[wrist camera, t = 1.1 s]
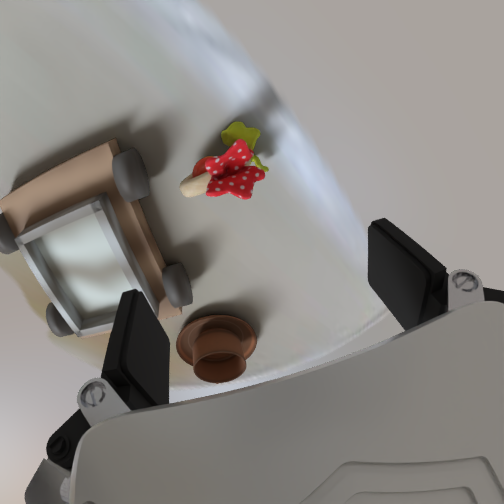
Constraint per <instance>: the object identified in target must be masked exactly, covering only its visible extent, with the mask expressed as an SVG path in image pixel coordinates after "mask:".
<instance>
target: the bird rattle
mask: <svg viewBox="0 0 504 504" xmlns="http://www.w3.org/2000/svg"><path fill="white" fill-rule="evenodd" d="M260 134H261V133H260V131H259V130H258V129H256V128H246V127H245V125H244V124H243V123H242V122H233V123H232V124H231V125H230V126H229V127H228V128H227V129H226V130H224V131H222V132H221V138H222V141H223V143H224V144H226V145H227V146H229V147H230V148H229V149H228V150H227V152H226V153H225V154H223V155H221V156H208V157H205V158H203V159H201V160H199V161H198V162H197V163H196V165H195V166H194V169H193V172H192V174H191V175H189V176H188V177H186V178H185V179H184V180H183V181H182V182H181V183H180V190H181V192H182V194H183V195H184V196H185V197H194V196H197V195H200V194H203V193H205V192H206V195H207V196H211V197H216V196H220V195H223V194H226V193H231V194H233V195H235V196H237V197H239V198H242V199H249V198H251V196H252V191H253V186H254V183H255V182H256V181H260V180H262V179H264V178H265V172H267V171H268V170H269V169H268V167H266V166H263V165H262V164H261V162H260V159H259V158H258V157H257V156H256V155H254V152H253V149H254V147H255V144H256V140H257V139H258V137H259V136H260ZM252 161H253V162H255V164H256V166H249V165H250V164H251V162H252Z"/></svg>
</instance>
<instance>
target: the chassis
mask: <svg viewBox="0 0 504 504" xmlns="http://www.w3.org/2000/svg"><path fill="white" fill-rule="evenodd" d="M149 192H150V187H149V180H148V176H147V172H146V168H145V165H144V163H143V160H142V158H141V156H140V154H139V152H138V151H137V150H136V149H135V148H132V149H130V150H127V151H125V152H122V153H121V152H120V149H119V146H118V143H117V140H116V138H115V139H112V140H110V141H108V142H105V143H103V144H101V145H99V146H96V147H94V148H92V149H90V150H88V151H85V152H83V153H81V154H79V155H77V156H75V157H73V158H71V159H69V160H67V161H65V162H63V163H61V164H59V165H57V166H55V167H53V168H51V169H50V170H48V171H46V172H44V173H42V174H40V175H39V176H37V177H35V178H33V179H32V180H30V181H28V182H27V183H25V184H23V185H22V186H20V187H18V188H17V189H15V190H13V191H12V192H10V193H9V194H8V195H6V196H5V197H4V198H2V199H1V200H0V207H1V209H2V212H3V213H1V214H0V252H2V253H4V254H10V253H13V252H15V251H17V250H19V249H20V251H21V253H22V255H23V257H24V258H25V260H26V262H27V263H28V265H29V267H30V269H31V270H32V272H33V273H34V275H35V277H36V278H37V280H38V282H39V283H40V285H41V286H42V288H43V289H44V291H45V292H46V294H47V295H48V297H49V298H50V300H51V301H52V302H51V303H49V304H48V306H47V309H46V319H47V323H48V325H49V328H50V329H51V331H52V332H53V333H54V334H55V335H56V336H58V337H63V336H67V335H71V334H74V333H75V334H76V335H77V336H78V337H80V338H81V339H83V338H87V337H92V336H96V335H101V334H105V333H109V332H111V331H112V327H113V324H114V320H115V316H116V312H117V309H118V305H119V302H120V298H121V295H122V293H123V292H125V291H129V290H132V289H137V290H138V291H142V292H143V294H144V295H145V297H146V299H147V301H148V303H149V305H150V306H151V308H152V310H153V312H154V314H155V315H156V317H157V319H158V320H162V319H166V318H169V317H173V316H177V315H181V314H182V306H186V305H189V304H192V302H193V296H192V290H191V286H190V282H189V279H188V276H187V273H186V271H185V269H184V267H183V265H182V264H181V263H177V264H174V265H171V266H166V264H165V262H164V260H163V257H162V255H161V253H160V251H159V248H158V246H157V244H156V242H155V239H154V237H153V235H152V232H151V230H150V227H149V225H148V223H147V220H146V218H145V215H144V213H143V210H142V208H141V205H140V203H139V200H138V199H140V198H143V197H146V196H148V195H149Z"/></svg>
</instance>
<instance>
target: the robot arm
mask: <svg viewBox="0 0 504 504" xmlns="http://www.w3.org/2000/svg"><path fill="white" fill-rule="evenodd" d="M368 282H369V284H370V286H371V287H372V289H373V290H374V291H375V292H376V294H377V295H378V296H379V297H380V299H381V300H382V301H383V302H384V304H385V305H386V306H387V308H388V309H389V310H390V311H391V313H392V314H393V315H394V317H395V318H396V319H397V320H398V322H399V323H400V324H401V326H402V327H403V328H404V330H405V331H404V332H402V333H400V334H398V335H395V336H393V337H391V338H389V339H386V340H384V341H382V342H379V343H377V344H375V345H372V346H369V347H367V348H364V349H362V350H359V351H357V352H354V353H352V354H349V355H346V356H344V357H341V358H338V359H336V360H333V361H330V362H327V363H324V364H321V365H319V366H316V367H312V368H309V369H307V370H303V371H300V372H297V373H294V374H291V375H288V376H284V377H281V378H278V379H274V380H270V381H267V382H263V383H259V384H256V385H252V386H248V387H244V388H240V389H237V390H232V391H228V392H224V393H220V394H215V395H210V396H205V397H201V398H196V399H191V400H186V401H181V402H176V403H170V404H169V360H170V342H169V338H168V336H167V334H166V333H165V331H164V329H163V328H162V326H161V324H160V322H159V321H158V319H157V317H156V315H155V314H154V312H153V310H152V308H151V306H150V305H149V303H148V301H147V299H146V297H145V295H144V294H143V292H142V291H138V290H137V289H132V290H129V291H125V292H123V293H122V295H121V298H120V302H119V305H118V309H117V312H116V316H115V320H114V324H113V327H112V331H111V334H110V338H109V343H108V347H107V351H106V355H105V360H104V364H103V369H102V374H101V378H94V379H91V380H89V381H87V382H86V383H85V384H84V385H83V386H82V387H81V389H80V390H79V392H78V396H77V403H78V405H79V408H80V409H79V410H78V411H77V412H75V413H74V414H73V416H71V417H70V418H69V419H68V420H67V421H66V422H65V423H64V424H63V425H62V426H61V427H60V428H59V429H58V430H57V431H56V432H55V433H54V434H52V436H51V437H50V438H49V440H48V443H47V447H46V450H47V455H48V459H47V460H46V459H43V460H42V462H41V464H40V466H39V468H38V469H37V471H36V473H35V474H34V476H33V478H32V480H31V482H30V483H29V485H28V487H27V489H26V492H25V502H26V504H504V291H501V290H495V289H490V288H484V287H483V285H482V282H481V279H480V278H479V277H478V276H477V275H476V274H475V273H473V272H471V271H469V270H463V269H461V270H460V269H459V270H455V271H453V272H451V274H450V275H449V274H448V273H447V272H446V267H445V266H443V265H442V264H441V263H440V262H439V261H438V260H437V259H435V258H434V257H433V256H432V255H431V254H430V253H428V252H427V251H426V250H425V249H424V248H422V247H421V246H420V245H419V244H418V243H416V242H415V241H414V240H413V239H411V238H410V237H409V236H408V235H406V234H405V233H404V232H403V231H401V230H400V229H399V228H398V227H396V226H395V225H394V224H392V223H391V222H390V221H388V220H387V219H386V218H382V219H379V220H375V221H372V222H371V225H370V226H369V227H368Z"/></svg>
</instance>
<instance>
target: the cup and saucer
mask: <svg viewBox="0 0 504 504" xmlns="http://www.w3.org/2000/svg"><path fill="white" fill-rule="evenodd" d="M256 344H257V337H256V334H255V332H254V330H253V329H252V328H251V326H250V325H249V324H247V323H246V322H245V321H243V320H241V319H239V318H236V317H232V316H227V315H212V316H206V317H202V318H199V319H197V320H195V321H193V322H191V323H189V324H188V325H186V326H185V327H184V328H183V329H182V330H181V332H180V333H179V335H178V338H177V341H176V349H177V352H178V354H179V356H180V357H181V358H182V359H183V360H184V361H185V362H186V363H188V364H190V365H192V366H193V370H194V373H195V375H196V376H197V377H198V378H200V379H201V380H203V381H206V382H210V383H216V384H218V383H224V382H228V381H232V380H234V379H236V378H238V377H239V376H241V375H242V374H243V373H244V371H245V369H246V361H245V360H246V359H247V358H249V357H250V356H251V354H252V353H253V352H254V350H255V348H256Z"/></svg>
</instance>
